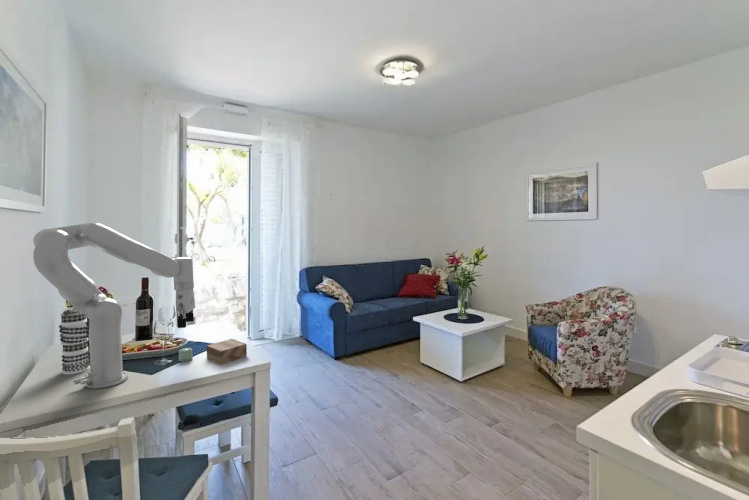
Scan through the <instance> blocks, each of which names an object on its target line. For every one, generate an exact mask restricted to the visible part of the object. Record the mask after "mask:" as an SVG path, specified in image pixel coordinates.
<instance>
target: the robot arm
mask: <svg viewBox="0 0 749 500" xmlns="http://www.w3.org/2000/svg"><path fill="white" fill-rule="evenodd" d="M32 240H33V241H32V242H33V245H34V249H33V256H32V257H33V262H34V266H35V268H36V269H37V271H38V272H39V273H40V275H42V276H43V277H44V279H46V280H47V281H48V282H49V283H50V284H51V285H52V286H53V287H55V288H56V289H57V291H58V294H59V295H60V296H61V298H63V299H64V300H65V301H66V302H67V303H68V304H70V306H72V307H73V308H76V309H77V310H78V311H79V312H80V313H82V314H83V315H84V316H85V317H86V318H87V320H88V322H89V323H88V327H89V328H88V330H89V332H88V335H89V337H88V339H89V340H88V343H89V346H88V351H89V359H90V361H89V363H90V365H89V366H90V368H89V370H90V371H88V372H87V374H86V375H84V376H82V377H77V378H74V379H73V384H74V385H79V384H81V385H85V387H86V388H88V389H95V390H96V389H97V390H98V389H104V388H109V387H114V386H116V385H119V384H121V383H124V382H125V381H126V380H127V379H128V378H129V374H128V373H127V372H126V371H124V370H123V369H124V368H123V347H122V345H123V344H122V321H123V320H122V319H123V309H122V306H121V304H120V303H119V302H118V301H117V300H116V299H113V298H111V297H108V296H107V295H105V294H104V293H103V292H102V291H101V289H99V288H98V286H97V284H96V282H95V281H94V280H93V279H91V277H89V276H88V275H87V274H86V273H84V272H83V271H82V270H81V269H79V268H78V266H77V265H76V264H75V263H74V262H72V260H71V259H70V258H69V250H75V249H80V248H85V247H89V246H90V247H92V248H95V249H97V250H98V251H99V250H100V251H102V252H103V253H106V254H108V255H110V256H113V257H114V258H116V259H118V260H120V261H123V262H126V263H128V264H129V263H130V264H133V265H137V266H140V267H142V268H145V269H147V270H150V272H151V273H152V274H153V275H155V276H158V277H164V278H173V290H174V291H175V313H176V322H177V323H176V324H177V325H176V326H177V329H185V328H187V322H190V323H191V322H194V320H195V318H194V309H195V308H196V301H195V299H196V298H195V291H194V288H195V287H194V286H195V285H194V284H195V281H194V263H193V259H192V257H189V256H180V257H179V256H178V257H175V258H172V257H170V256H168V255H166V254H164V253H162V252H159V251H158V250H155V249H153V248H151V247H149V246H147V245H145V244H143V243H141V242H138V241H137V240H135V239H132V238H130V237H128V236H127V235H124V234H123V233H120V232H119V231H116V230H115V229H113V228H110V227H108V226H106V225H104V224H102V223H100V222H86V223H81V224H75V225H68V226H61V227H60V226H59V227H53V228H45V229H42V230H40V231H37V232H36V233H35V235H34V236H33V239H32Z"/></svg>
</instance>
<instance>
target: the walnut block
mask: <svg viewBox="0 0 749 500" xmlns="http://www.w3.org/2000/svg"><path fill="white" fill-rule="evenodd" d="M247 346H248V345H247V343H246V342H242V341H239V340H238V339H233V338H230V339H226V340H223V341H219V342H214V343H211V344H207V345H206V359H208V360H210V361H213V362H215V363H217V364H219V365H225V364H228V363H230V362H233V361H237V360H240V359H242V358H246V357H247V355H248V352H247V349H248V347H247Z"/></svg>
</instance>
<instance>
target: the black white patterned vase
mask: <svg viewBox="0 0 749 500" xmlns="http://www.w3.org/2000/svg"><path fill="white" fill-rule="evenodd" d="M60 318H61V319H60V324H59V325H58V328H59V330H58V331H59V333H60V335H59V338H60V339H59V340H60V342H61V343H60V345H62V350H61V351H62V352H61V353H62V354H61V358H62V359H61V362H62V364H61V366H62V374H63V375H75V374H79V373H80V374H81V373H83V372H86V371H88V370H90V350H89V346H88V342H89V320H88V318H87V317H85V316H84V315H83V314H82V313H80V312H79V311H78V310H77V309H76V308H74V307H73V308H66V309H64V310H63V312H62V313H60ZM87 333H88V334H87Z"/></svg>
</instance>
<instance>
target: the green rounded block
mask: <svg viewBox="0 0 749 500" xmlns="http://www.w3.org/2000/svg"><path fill="white" fill-rule="evenodd" d="M193 357H194V356H193V347H184V348H181V349H178V362H180V363H186V362H191V361H192V360H193V359H194V358H193Z"/></svg>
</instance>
